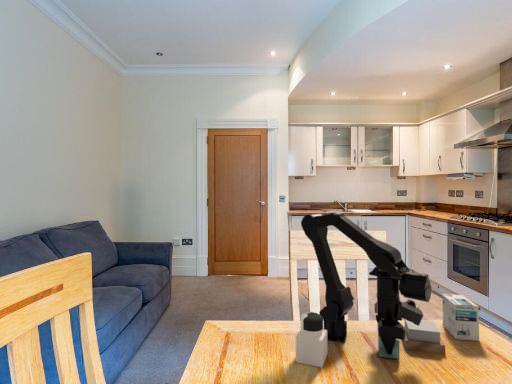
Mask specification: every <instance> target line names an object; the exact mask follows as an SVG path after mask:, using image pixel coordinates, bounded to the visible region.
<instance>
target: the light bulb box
mask: <svg viewBox="0 0 512 384" xmlns="http://www.w3.org/2000/svg"><path fill="white" fill-rule="evenodd" d="M441 295H442V296H441V297H442V299H441V300H442V326H443V327H444V328H445V329H446V330H447V331H448V333H450V335H451V336H453V338H454V339H455V340H462V341H474V342H476V341H477V342H479V341H480V313H479V312H480V311H479V310H480V308H479V307H480V306H479V305H477V304H476V303H475V302H473V301H472V300H470V299H469V298H468V297H466V296H465V295H463V294H449V293H442V294H441Z"/></svg>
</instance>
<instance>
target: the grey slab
mask: <svg viewBox="0 0 512 384" xmlns="http://www.w3.org/2000/svg"><path fill="white" fill-rule="evenodd" d="M404 327H405V330H406V333H407V335H408V338H409V339H412V340H420V341H428V342H437V343H440V337H441V331H440V330H439V328H438V327H437V325H436V323H435V322H434V320H426V319H422V320H421V322H420V325H419V326H418V325H415V324H414V323H412V322H410V321H408V320H405V319H404Z"/></svg>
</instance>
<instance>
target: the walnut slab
mask: <svg viewBox="0 0 512 384" xmlns="http://www.w3.org/2000/svg"><path fill="white" fill-rule="evenodd" d="M403 327H404V330H405V325H403ZM402 342H403V344H404V348H405V350H411V351H416V352H425V353H431V354H439V355H446V345H445V344H446V343H444V341H443V339H442V337H441V336H440V343H437V342H428V341H420V340H412V339H409V338H408V335H407V333H406V330H405V339H404V340H402Z"/></svg>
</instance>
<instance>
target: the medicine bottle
mask: <svg viewBox="0 0 512 384" xmlns="http://www.w3.org/2000/svg"><path fill="white" fill-rule="evenodd" d="M328 354H329V353H328V340H327V330H325V329H324V319H323V317H322V316H321V315H320V313H317V312H313V311H307V312H304V313H302V314H300V329H299V330H298V332H297V333H296V335H295V362H296V363H300V364H304V365H308V366H311V367H316V368H323V367H324V364H325V362H326V359H327V357H328Z"/></svg>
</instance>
